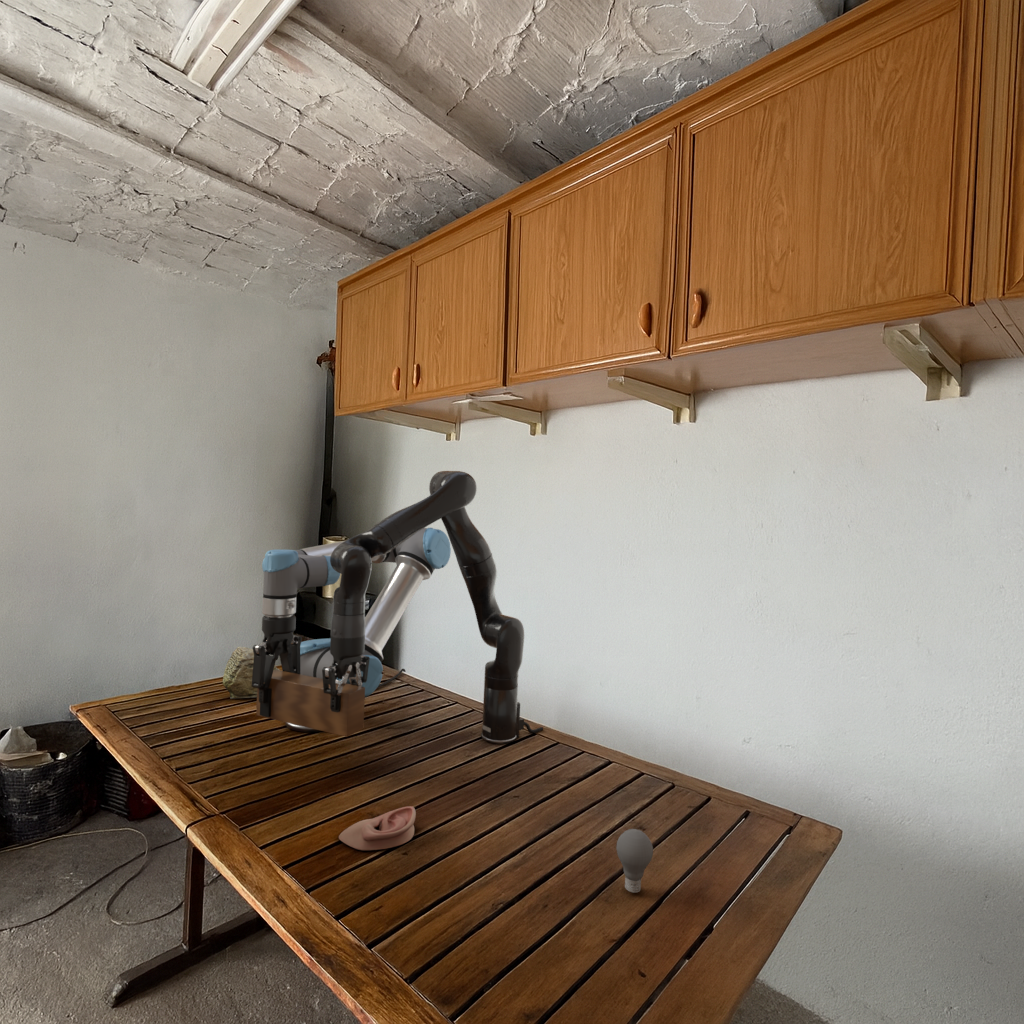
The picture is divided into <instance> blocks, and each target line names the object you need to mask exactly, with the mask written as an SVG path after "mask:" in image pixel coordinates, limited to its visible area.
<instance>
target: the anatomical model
mask: <svg viewBox="0 0 1024 1024" xmlns="http://www.w3.org/2000/svg"><path fill="white" fill-rule="evenodd" d="M416 816H417V812H416V809H415V807H414V806H413V805H412V806H410V805H407V806H403V807H399V808H395V809H393V810H390V811H388V812H385V813H383V814H380V815H378V816H376V817H373V818H367V819H363V820H360V821H356V822H354V824H351V825H350V826H348V827H346V828H345V829H344V830H343V831H342V832H341V833H340V834H339V835H338V839H339V840H340V841H341V842H342V843H344V844H345V845H347V846H349V847H351V848H353V849H355V850H359V851H378V850H386V849H391V848H395V847H398V846H401V845H404V844H405V843H407V842H409V841H410V840H412V839H413V837H414V835H415V826H414V823H415V821H416Z"/></svg>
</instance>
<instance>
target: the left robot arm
mask: <svg viewBox="0 0 1024 1024" xmlns="http://www.w3.org/2000/svg"><path fill="white" fill-rule="evenodd" d="M344 541H345V540H342V541H336V542H331V543H326V544H321V545H320V544H319V545H315V546H309V547H304V548H300V549H269V550H267V551H266V552H265V555H264V558H263V560H262V564H261V565H262V566H261V567H262V568H261V569H262V572H263V585H262V586H263V588H262V591H263V592H262V594H263V595H262V611H261V613H262V614H263V616H262V618H261V631H262V633H263V638H262V641H261V642H260V643H259V644H254V645H253V646H252V649H253V652H254V662H253V674H252V687H254V688H258V689H259V703H260V715H261V716H260V717H262V716H265V717H264V718H266V717H270V716H271V696H272V689H271V688H269V686H270V682H271V678H272V674H273V670H274V666H275V665H276V662H277V660H278V659H279V661H280V665H281V669H282V670H281V671H285V672H290V673H295V674H300V675H305V676H310V677H316V678H321V679H323V675H322V669H323V667H330V666H332V663H333V659H334V658H333V656H332V655H331V653H330V640H331V637H329V638H317V639H316V638H315V639H308V640H304V641H303V636H301V635H295V634H294V631H296V628H297V627H296V626H297V625H296V623H297V622H296V621H297V617H296V615H295V614H296V613H297V597H298V589H304V588H314V587H316V588H317V587H326V586H331V585H334V584H336V583H337V582H338V580H339V579H340V578H341V573H338V572H336V571H335V570H334V569H333V568H332V566H331V563H330V557H331V554H332V552H333V550H334V549H335V548H336V547H337V546H338V545H340V544H341V543H343V542H344ZM451 549H452V547H451V542H450V539H449V536H448V534H447V533H445V532H444V531H443V530H441V529H438V528H433V527H425V528H423V529H422V530H420V531H419V532H417V533H416V534H414V535H413V536H411V537H410V538H408V539H407V540H406V541H404V542H403V543H401V544H400V545H399V546H397V547H396V548H394V549H393V550H391V551H390V552H388V553H386V554H384V555H378V556H375V557H373V558H371V561H372V564H382V563H394V564H396V567H395V568H394V569H393V571H392V573H391V575H390V576H389V578H388V579H387V581H386V583H385V584H384V585H383V588H382V589H381V591H380V593H379V594H378V595H377V598H376V599H375V601H374V602H373V604H372V606H371V607H370V609H369V610H368V612H367V613H366V614H365V651H364V653H363V654H362V656H368V657H369V658H370V660H369V668H368V676H367V681H366V682H365V683H364V682H363V683H362V686H361V687H365V698H367V697H369V696H370V695H372V694H373V693H374V692H375V691H376V690H377V689H378V688H380V687H383V686H385V685H387V684H389V683H391V682H392V681H394V680H395V679H397V678H398V677H399V676H400V675H401V674H402V673H406V669H405V668H401V669H400V670H399V672H398V673H397V674H395V675H394V676H393V677H391V678H389V679H388V680H386V681H384V682H382V683H381V681H382V679H383V671H384V666H383V664H382V662H383V660H384V655H383V650H384V648H385V646H386V644H387V642H388V641H389V639H390V638H391V635H392V634H393V632H394V630H395V628H396V627H397V625H398V623H399V622H400V620H401V618H402V616H403V614H404V613H405V611H406V609H407V608H408V607H409V604H410V602H412V599H413V597H414V596H415V594H416V592H417V591H418V589H419V587H420V585H421V584H422V581H426V580H429V579H430V578H431V577H432V575H433V574H434V571H435V570H440V569H442V568H443V569H444V568H445V567H446V566H447V565H448V563H449V561H450V558H451V552H452V551H451ZM361 675H362V677H363V671H361ZM337 680H339V681H341V680H342V679H338V678H337ZM264 683H265V684H264ZM346 684H350V681H349V679H347V682H346ZM285 726H286V728H287V729H289V730H291V731H294V732H295V731H296V732H301V733H316V732H322V731H321V730H316V729H312V728H308V727H304V726H300V725H296V724H291V723H287V722H285Z"/></svg>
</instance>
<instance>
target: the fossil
mask: <svg viewBox="0 0 1024 1024" xmlns="http://www.w3.org/2000/svg"><path fill="white" fill-rule="evenodd" d="M253 662H254V652H253V648H251V647H247V646H246V647H245V646H238V647H237V648H236V649H235V650H233V651H232V653H231V656H230V657H229V659H228V660H227V663H226V666H225V668H224V671H223V675H222V676H223V677H222V685H223V687H224V688H225V690H226V691H228V693H229V698H230V699H250V698H257V688H254V687H252V674H253ZM274 670H280V669H279V668H278V667H277V665H276V664H275V666H274ZM274 670H273V671H274Z"/></svg>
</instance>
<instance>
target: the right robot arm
mask: <svg viewBox="0 0 1024 1024" xmlns="http://www.w3.org/2000/svg"><path fill="white" fill-rule="evenodd" d="M428 486H429V487H428V489H429V495H428V496H427V497H425V498H423V499H421V500H419V501H417V502H416V503H414V504H411V505H409V506H405V507H404V508H401V509H399V510H397V511H395V512H393V513H391V514H390V515H388V516H385V518H383V519H382V520H380V521H379V522H377V523H376V524H375V525H373V526H371V527H370V528H369V529H367V530H365V531H363V532H361V533H359V534H356V535H354V536H352V537H349V538H348V539H346V540H343V541H344V542H343V543H341V544H340V545H338V546H337V547H336V548H335V549H334V550H333V552H332V554H331V557H330V563H331V566H332V568H333V569H334V570H335V571H336V572H338V573H340V582H339V586H338V587H336V588H335V589H334V591H333V597H332V616H331V621H330V638H331V640H330V653H331V655H332V656H333V658H334V659H333V663H332V666H330V667H323V669H322V675H323V690H324V693H326V694H330V696H331V700H330V708H331V711H333V712H340V711H341V692H342V689H343V686H345V685H346V682H347V679H349V681H350V684H351V685H356V686H362V683H363V682H364V683H365V682H366V681H367V676H368V668H369V660H370V658H369V657H368V656H362V654H363V653H364V651H365V617H366V593H367V590H368V587H369V582H370V578H371V574H372V568H373V562H372V561H371V558H373V557H375V556H378V555H384V554H386V553H388V552H390V551H391V550H393V549H394V548H396V547H397V546H399V545H400V544H401V543H403V542H404V541H406V540H407V539H408V538H410V537H411V536H413V535H414V534H416V533H417V532H419V531H420V530H422V529H423V528H428V526H430V525H432V524H434V523H435V522H437V521H439V520H441V521H442V524H443V526H444V528H445V531H446V534H447V537H448V539H449V542H450V546H451V548H452V550H453V552H454V553H453V554H454V555H455V558H456V561H457V565H458V568H459V570H460V573H461V576H462V579H463V580H464V583H465V586H466V589H467V592H468V595H469V597H470V601H471V603H472V606H473V609H474V610H473V611H474V614H475V619H476V622H477V626H478V630H479V634H480V637H481V639H482V641H483V642H484V643H485V644H486V645H487V646H488V647H491V648H494V649H496V651H495V658H494V660H493V659H492V660H489V661H488V662H486V663H485V665H484V678H483V679H484V680H483V701H482V702H483V703H482V705H483V706H482V727H481V739H482V740H483V741H485V742H487V743H490V744H497V745H504V744H505V745H506V744H511V743H514V742H515V741H516V740H517V739H519V738H520V731H522V730H524V728H526V730H527V732H528V733H530V734H537V733H540V732H543V731H544V727H543V726H541V727H538V728H534V729H532V728H531V726H530V724H529V723H527V722H526V721H525V718H523V717H521V703H520V701H518V699H519V678H520V676H519V675H520V669H521V666H522V663H523V658H524V648H525V627H524V624H523V621H521V620H520V619H519V618H517V617H514V616H510V615H507V614H503V612H502V610H501V608H500V606H499V603H498V600H497V597H496V585H497V578H498V568H497V563H496V561H495V557H494V555H493V552H492V549H491V547H490V545H489V543H488V541H487V540H486V539H485V538H484V535H482V534H481V532H480V531H479V529H478V528H477V527H476V526H475V525H474V523H473V522H472V520H471V518H470V516H469V515H468V511H467V509H466V507H467V506H468V505H471V503H472V502H473V501H474V499H475V498H476V495H477V492H478V491H477V490H478V488H477V483H476V480H475V478H474V477H473V476H472V475H471V474H469V473H467V472H466V471H462V470H461V471H460V470H441V471H438V472H436V473H435V474H433V475H432V477H431V479H430V481H429V485H428ZM361 671H363V677H362V675H361ZM337 678H338V679H342V680H341V681H339V680H337ZM337 684H338V688H337V690H336V685H337ZM329 685H330V688H329Z"/></svg>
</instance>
